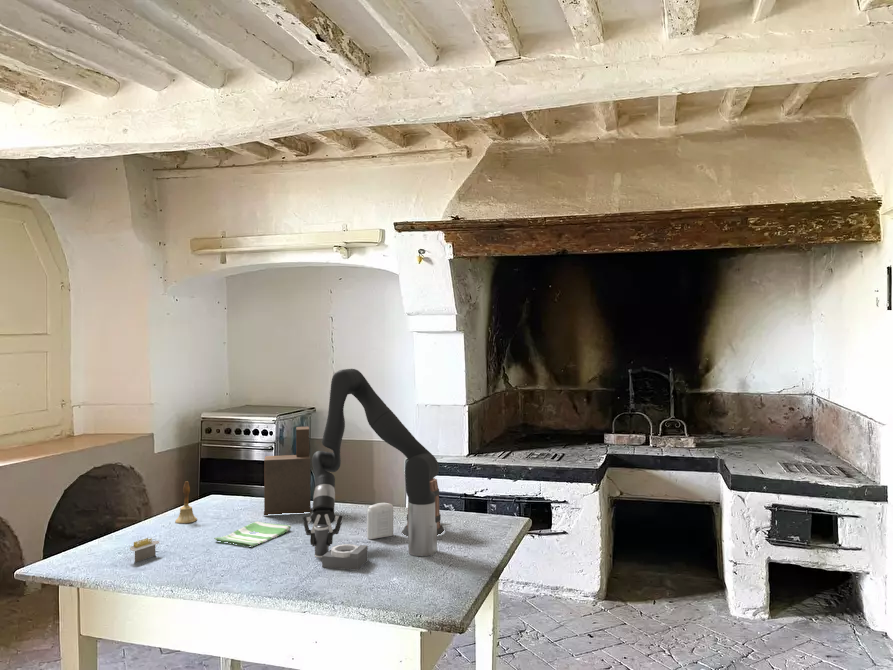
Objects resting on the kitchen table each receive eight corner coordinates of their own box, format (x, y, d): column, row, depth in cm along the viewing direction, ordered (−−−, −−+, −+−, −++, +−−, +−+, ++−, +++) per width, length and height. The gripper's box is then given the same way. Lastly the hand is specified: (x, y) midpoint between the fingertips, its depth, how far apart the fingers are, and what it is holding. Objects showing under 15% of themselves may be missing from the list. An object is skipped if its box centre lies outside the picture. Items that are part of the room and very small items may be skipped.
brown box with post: (310, 505, 288) (310, 426, 289) (310, 513, 274) (310, 430, 275) (265, 508, 284) (265, 427, 284) (263, 516, 270) (263, 432, 270)
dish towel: (212, 543, 235) (212, 536, 235) (256, 527, 256) (256, 520, 256) (251, 549, 228) (251, 541, 228) (293, 532, 249) (293, 525, 249)
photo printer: (389, 533, 246) (389, 500, 246) (395, 535, 242) (395, 502, 242) (365, 537, 240) (364, 504, 240) (370, 540, 236) (370, 506, 236)
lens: (331, 553, 221) (331, 524, 221) (325, 558, 217) (325, 528, 217) (318, 552, 222) (318, 523, 222) (312, 557, 218) (311, 527, 218)
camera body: (367, 560, 214) (367, 545, 214) (357, 570, 205) (357, 554, 205) (333, 558, 217) (333, 543, 217) (322, 567, 208) (322, 551, 208)
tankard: (439, 540, 237) (439, 484, 237) (395, 536, 241) (395, 482, 241) (454, 522, 260) (454, 472, 260) (413, 520, 264) (413, 470, 264)
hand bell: (176, 519, 266) (176, 480, 267) (197, 517, 269) (197, 478, 269) (174, 524, 259) (174, 484, 259) (196, 522, 261) (196, 482, 261)
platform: (106, 565, 212) (107, 545, 212) (153, 549, 228) (153, 531, 228) (132, 570, 206) (132, 550, 207) (178, 554, 223) (178, 535, 223)
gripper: (302, 495, 226) (298, 540, 214) (344, 493, 228) (342, 538, 216) (304, 506, 232) (300, 551, 219) (344, 505, 233) (343, 549, 221)
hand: (321, 544), depth 218 cm, fingers closed on lens, 4 cm apart
